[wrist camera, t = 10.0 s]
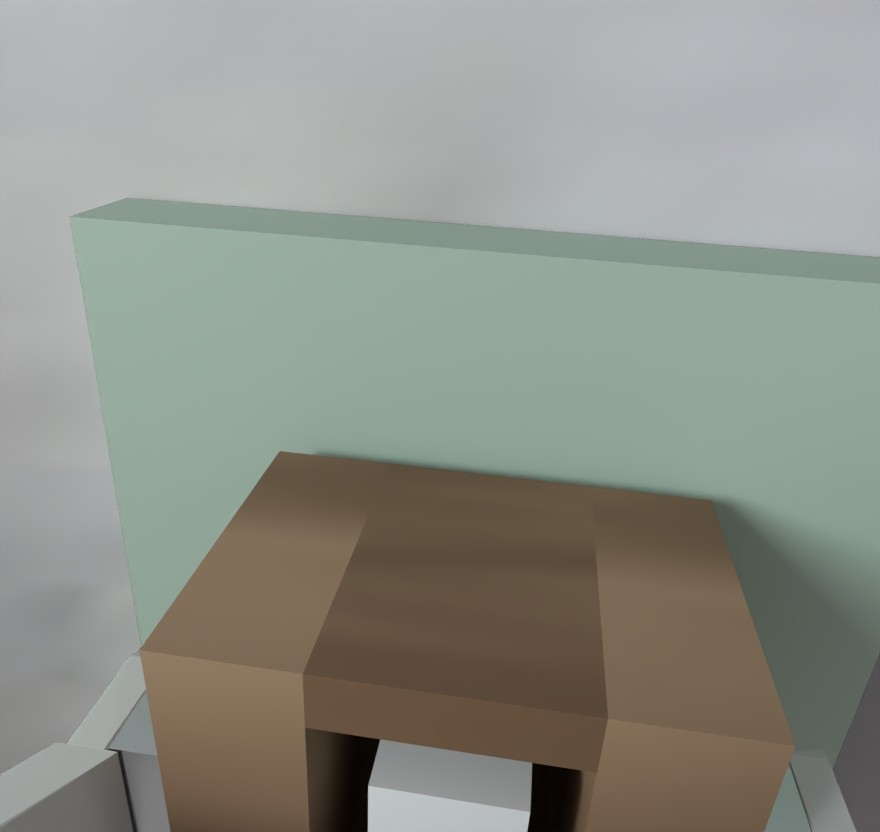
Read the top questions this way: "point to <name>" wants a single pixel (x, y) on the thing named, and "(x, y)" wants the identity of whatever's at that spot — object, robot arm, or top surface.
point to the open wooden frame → (463, 653)
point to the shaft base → (501, 412)
